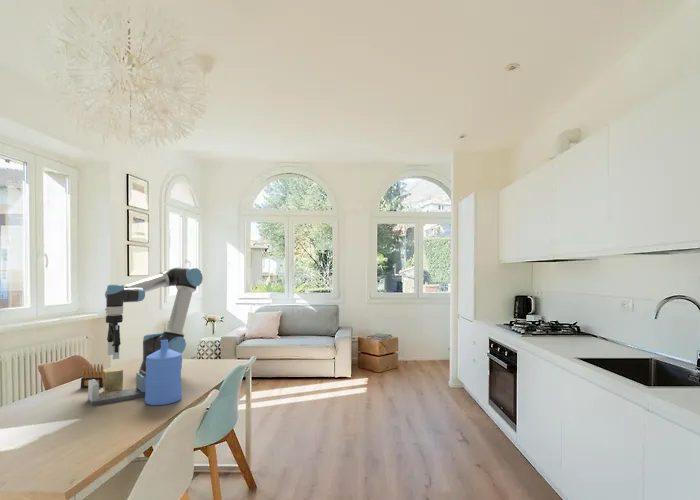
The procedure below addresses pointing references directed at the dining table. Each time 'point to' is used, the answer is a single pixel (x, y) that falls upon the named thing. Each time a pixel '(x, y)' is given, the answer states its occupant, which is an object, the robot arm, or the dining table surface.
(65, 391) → the dining table surface
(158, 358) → the water jug
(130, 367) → the dining table surface
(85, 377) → the ammunition clip
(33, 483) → the dining table surface
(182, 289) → the robot arm
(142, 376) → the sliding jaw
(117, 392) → the grey l-shaped bracket
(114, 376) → the brass block
